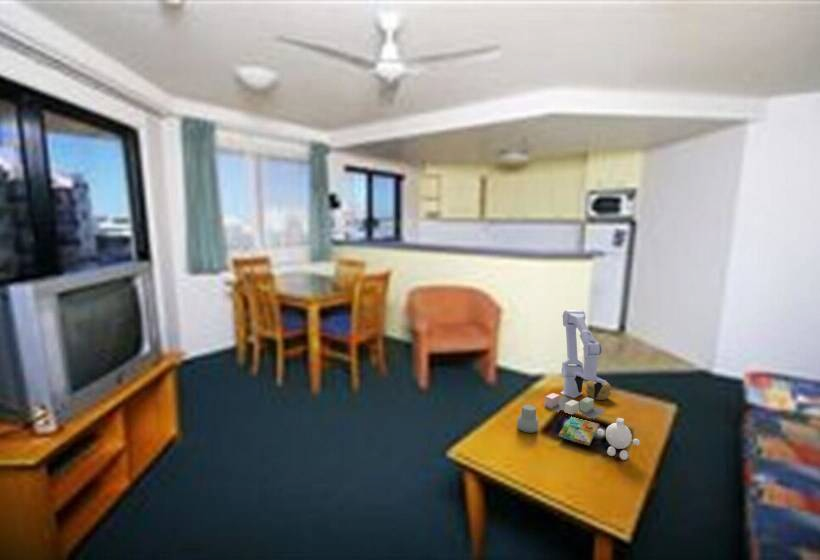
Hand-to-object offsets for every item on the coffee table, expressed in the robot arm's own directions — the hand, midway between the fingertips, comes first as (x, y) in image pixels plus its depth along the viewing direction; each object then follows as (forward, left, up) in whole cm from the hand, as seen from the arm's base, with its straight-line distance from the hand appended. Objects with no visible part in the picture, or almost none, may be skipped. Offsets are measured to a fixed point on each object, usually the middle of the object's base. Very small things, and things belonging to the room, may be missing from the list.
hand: (587, 394), depth 204 cm
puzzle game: (+28, +10, -8) cm, 31 cm away
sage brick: (0, 0, -7) cm, 7 cm away
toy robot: (+30, +26, -8) cm, 40 cm away
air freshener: (+40, -7, -8) cm, 41 cm away
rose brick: (+9, -13, -7) cm, 17 cm away
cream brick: (+9, -3, -7) cm, 12 cm away
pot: (-19, -3, -8) cm, 21 cm away
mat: (+4, -4, -8) cm, 10 cm away
